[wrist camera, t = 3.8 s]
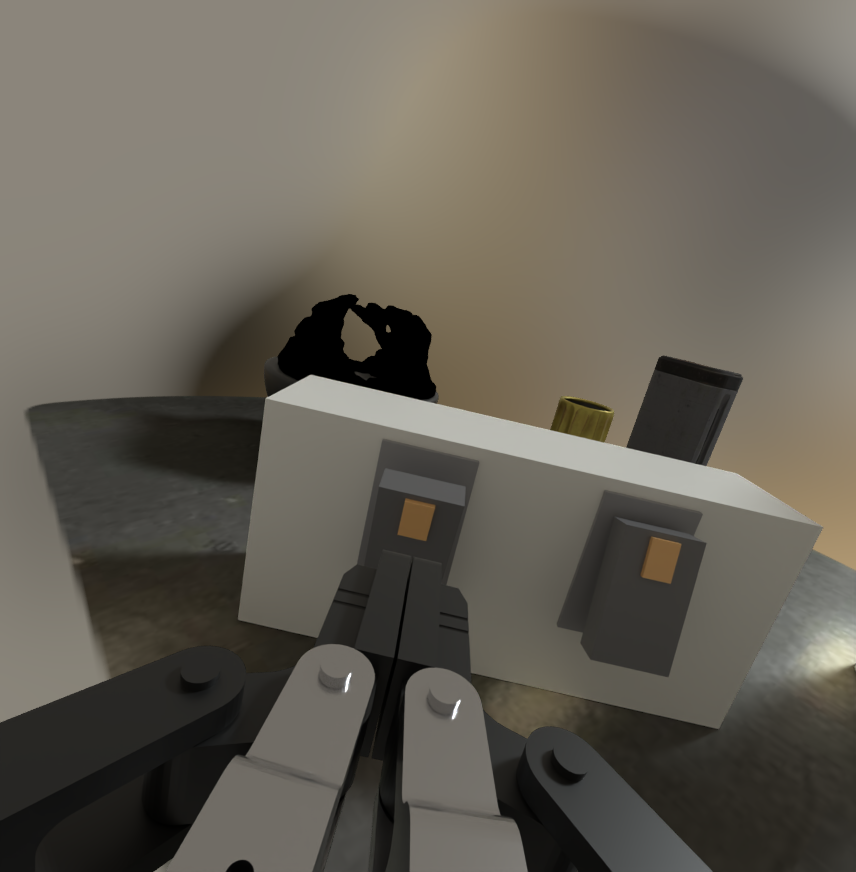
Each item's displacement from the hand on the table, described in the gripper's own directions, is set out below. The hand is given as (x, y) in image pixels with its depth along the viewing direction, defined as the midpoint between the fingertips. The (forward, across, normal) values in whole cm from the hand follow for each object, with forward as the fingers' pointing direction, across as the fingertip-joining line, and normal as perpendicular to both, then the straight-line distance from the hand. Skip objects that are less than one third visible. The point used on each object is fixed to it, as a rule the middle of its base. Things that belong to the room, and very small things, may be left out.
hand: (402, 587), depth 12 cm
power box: (+18, -6, +14) cm, 23 cm away
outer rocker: (+12, 0, +8) cm, 15 cm away
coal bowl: (+44, +10, +14) cm, 47 cm away
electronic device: (+52, -32, +13) cm, 62 cm away
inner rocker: (+11, -12, +8) cm, 18 cm away
